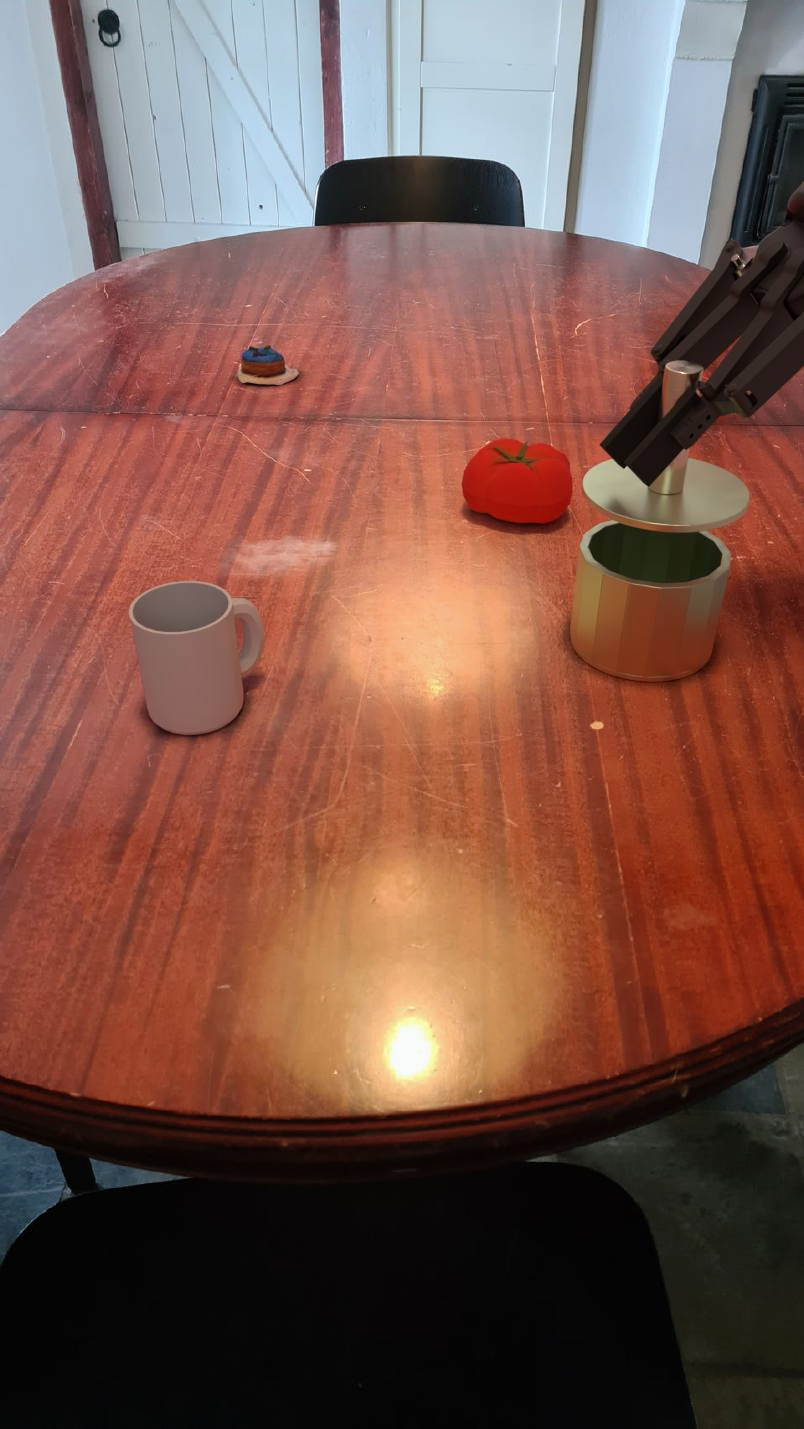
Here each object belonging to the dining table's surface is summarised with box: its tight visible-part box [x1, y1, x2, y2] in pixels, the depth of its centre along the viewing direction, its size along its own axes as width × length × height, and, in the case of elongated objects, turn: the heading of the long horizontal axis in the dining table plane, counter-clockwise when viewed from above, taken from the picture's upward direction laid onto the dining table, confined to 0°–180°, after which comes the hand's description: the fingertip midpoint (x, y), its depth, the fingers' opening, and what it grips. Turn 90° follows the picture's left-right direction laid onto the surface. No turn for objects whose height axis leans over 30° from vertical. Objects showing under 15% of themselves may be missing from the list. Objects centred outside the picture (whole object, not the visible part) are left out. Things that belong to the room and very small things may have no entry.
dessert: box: [237, 344, 300, 386], centre depth 135 cm, size 8×7×6 cm
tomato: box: [461, 437, 574, 525], centre depth 102 cm, size 10×11×6 cm
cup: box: [128, 580, 265, 736], centre depth 76 cm, size 7×10×9 cm
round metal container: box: [569, 519, 733, 683], centre depth 82 cm, size 11×11×8 cm
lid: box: [581, 361, 751, 533], centre depth 74 cm, size 12×12×10 cm
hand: (624, 465), depth 74 cm, fingers closed on lid, 3 cm apart
